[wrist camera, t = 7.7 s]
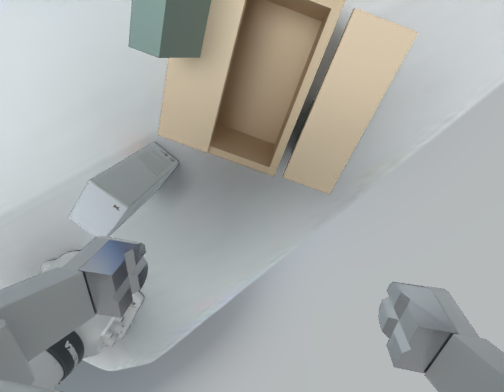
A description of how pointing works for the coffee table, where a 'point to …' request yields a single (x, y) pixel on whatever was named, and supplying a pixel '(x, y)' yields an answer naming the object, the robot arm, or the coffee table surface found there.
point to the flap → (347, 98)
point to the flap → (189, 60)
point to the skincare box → (122, 190)
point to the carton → (271, 78)
